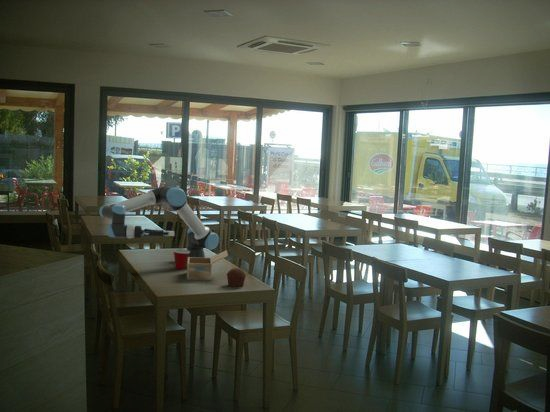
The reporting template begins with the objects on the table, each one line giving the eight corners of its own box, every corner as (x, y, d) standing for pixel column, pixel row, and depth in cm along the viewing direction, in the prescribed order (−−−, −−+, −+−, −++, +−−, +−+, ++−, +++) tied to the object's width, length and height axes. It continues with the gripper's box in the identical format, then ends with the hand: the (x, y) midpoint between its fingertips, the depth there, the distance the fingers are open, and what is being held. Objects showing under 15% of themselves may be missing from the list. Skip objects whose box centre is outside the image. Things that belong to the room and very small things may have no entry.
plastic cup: (185, 270, 367) (186, 252, 366) (169, 269, 369) (170, 250, 368) (191, 267, 378) (192, 249, 377) (176, 266, 380) (176, 248, 379)
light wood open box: (187, 272, 363) (188, 256, 362) (210, 273, 365) (211, 257, 364) (186, 280, 342) (187, 263, 341) (211, 280, 344) (211, 264, 343)
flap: (211, 257, 363) (226, 250, 363) (211, 257, 363) (226, 250, 363) (211, 263, 344) (227, 255, 345) (212, 263, 344) (228, 256, 345)
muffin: (246, 288, 330) (247, 271, 329) (227, 288, 328) (228, 270, 327) (243, 283, 342) (244, 266, 341) (225, 283, 339) (225, 266, 339)
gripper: (135, 236, 352) (174, 238, 356) (133, 239, 340) (173, 241, 343) (135, 224, 352) (174, 226, 355) (133, 227, 339) (174, 228, 342)
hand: (174, 233), depth 349 cm, fingers closed
